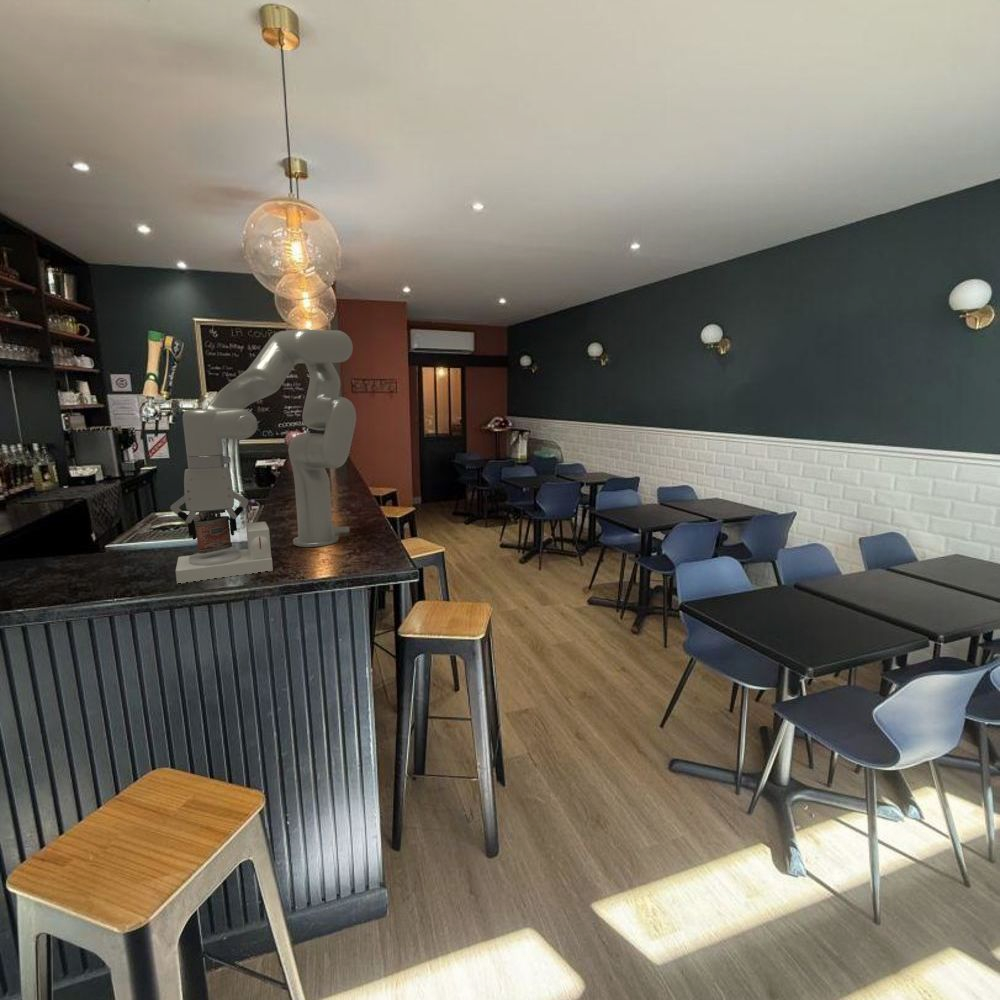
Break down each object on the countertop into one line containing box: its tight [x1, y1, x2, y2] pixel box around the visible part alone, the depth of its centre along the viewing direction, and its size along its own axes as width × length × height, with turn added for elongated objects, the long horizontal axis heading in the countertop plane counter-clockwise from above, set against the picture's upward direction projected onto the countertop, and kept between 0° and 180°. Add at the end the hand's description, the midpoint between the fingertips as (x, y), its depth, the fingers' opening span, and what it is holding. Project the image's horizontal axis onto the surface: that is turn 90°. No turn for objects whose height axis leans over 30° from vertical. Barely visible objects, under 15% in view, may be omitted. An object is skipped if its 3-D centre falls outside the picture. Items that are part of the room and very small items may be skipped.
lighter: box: [194, 510, 233, 554], centre depth 128 cm, size 8×3×10 cm, turn 148°
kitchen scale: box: [175, 521, 274, 585], centre depth 130 cm, size 20×13×10 cm, turn 118°
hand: (213, 535), depth 128 cm, fingers closed on lighter, 7 cm apart
